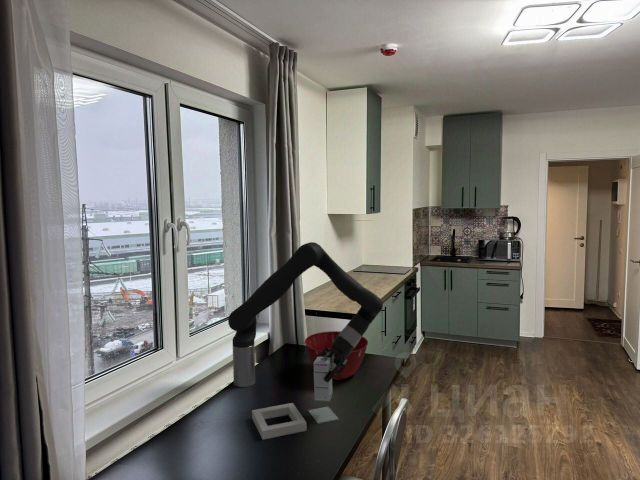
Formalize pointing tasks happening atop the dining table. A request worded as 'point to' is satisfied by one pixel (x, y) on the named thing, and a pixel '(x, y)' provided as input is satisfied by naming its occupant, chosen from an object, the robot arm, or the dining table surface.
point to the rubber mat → (323, 415)
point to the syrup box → (322, 379)
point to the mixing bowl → (325, 339)
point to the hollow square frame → (279, 429)
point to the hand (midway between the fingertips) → (319, 376)
